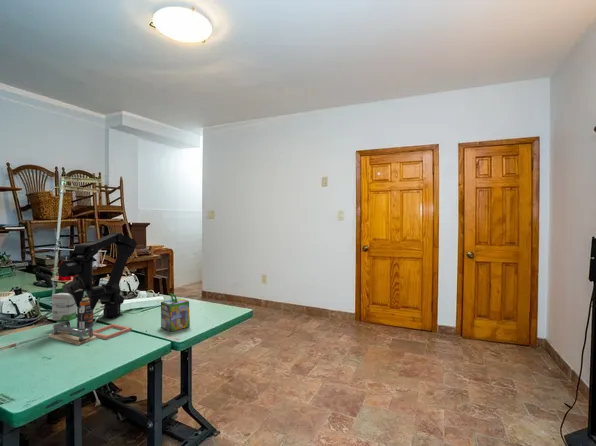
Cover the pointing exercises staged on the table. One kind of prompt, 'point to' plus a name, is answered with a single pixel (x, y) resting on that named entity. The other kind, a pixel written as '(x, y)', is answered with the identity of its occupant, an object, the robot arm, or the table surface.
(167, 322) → the chalk box
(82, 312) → the pill bottle
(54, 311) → the ink box
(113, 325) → the frame
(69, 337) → the wire base
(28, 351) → the table surface
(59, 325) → the bent wire
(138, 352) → the table surface
